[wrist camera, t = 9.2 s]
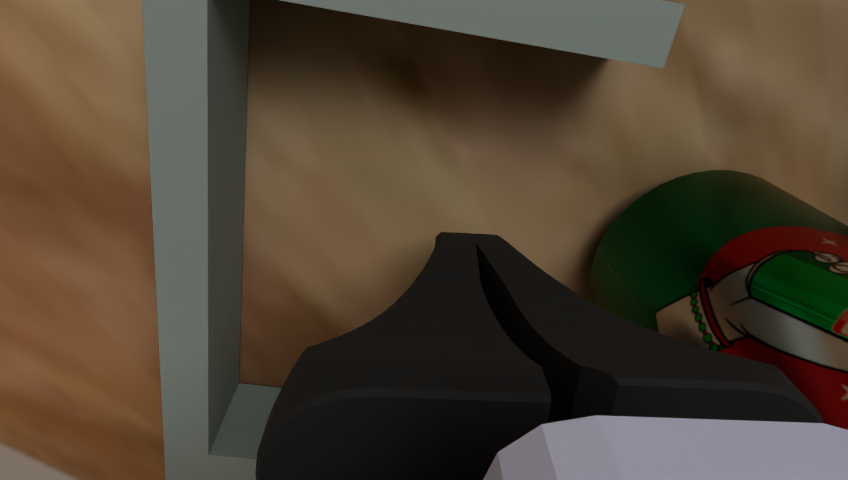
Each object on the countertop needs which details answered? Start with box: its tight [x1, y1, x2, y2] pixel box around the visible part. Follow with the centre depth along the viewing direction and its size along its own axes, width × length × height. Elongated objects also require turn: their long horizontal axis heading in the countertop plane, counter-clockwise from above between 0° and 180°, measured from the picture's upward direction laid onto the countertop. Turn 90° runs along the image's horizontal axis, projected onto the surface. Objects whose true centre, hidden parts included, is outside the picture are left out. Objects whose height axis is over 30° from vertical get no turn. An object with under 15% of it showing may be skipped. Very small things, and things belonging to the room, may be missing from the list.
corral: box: [142, 0, 685, 480], centre depth 13 cm, size 24×12×2 cm, turn 81°
